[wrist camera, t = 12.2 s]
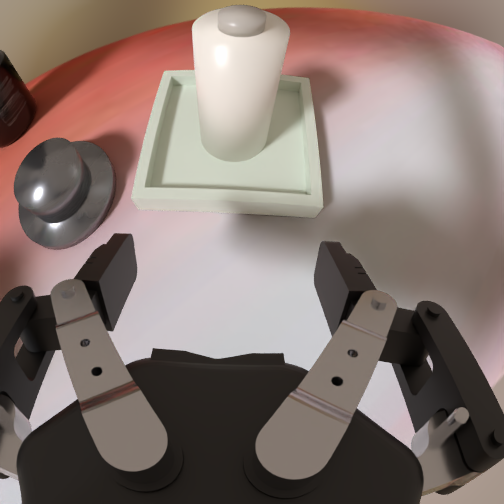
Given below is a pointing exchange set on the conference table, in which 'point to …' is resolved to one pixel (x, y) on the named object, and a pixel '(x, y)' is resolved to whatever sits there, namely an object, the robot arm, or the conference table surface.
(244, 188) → the tray
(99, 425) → the robot arm
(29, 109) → the supplement bottle
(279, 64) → the white knobbed cylinder
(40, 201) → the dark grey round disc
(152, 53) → the conference table surface
